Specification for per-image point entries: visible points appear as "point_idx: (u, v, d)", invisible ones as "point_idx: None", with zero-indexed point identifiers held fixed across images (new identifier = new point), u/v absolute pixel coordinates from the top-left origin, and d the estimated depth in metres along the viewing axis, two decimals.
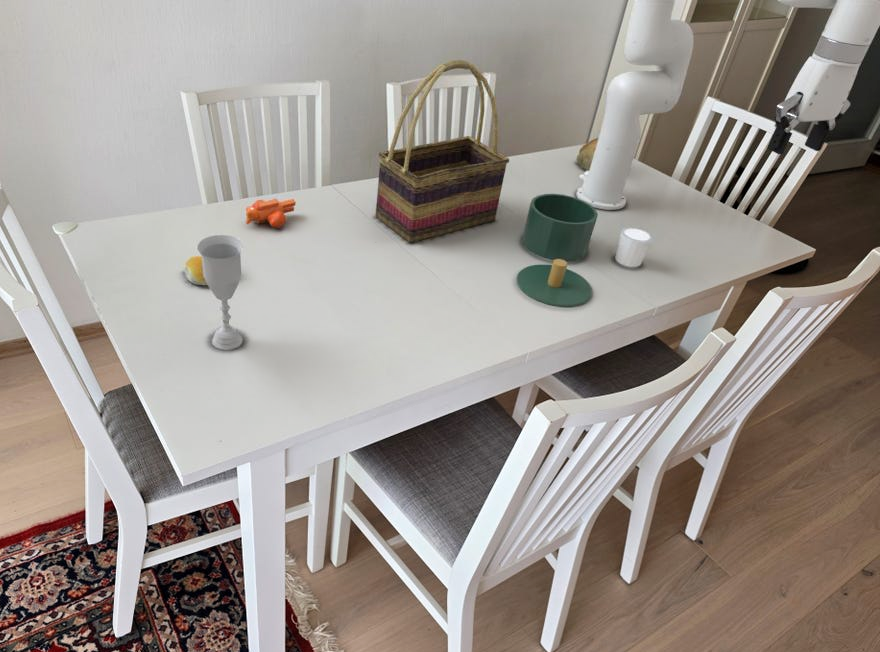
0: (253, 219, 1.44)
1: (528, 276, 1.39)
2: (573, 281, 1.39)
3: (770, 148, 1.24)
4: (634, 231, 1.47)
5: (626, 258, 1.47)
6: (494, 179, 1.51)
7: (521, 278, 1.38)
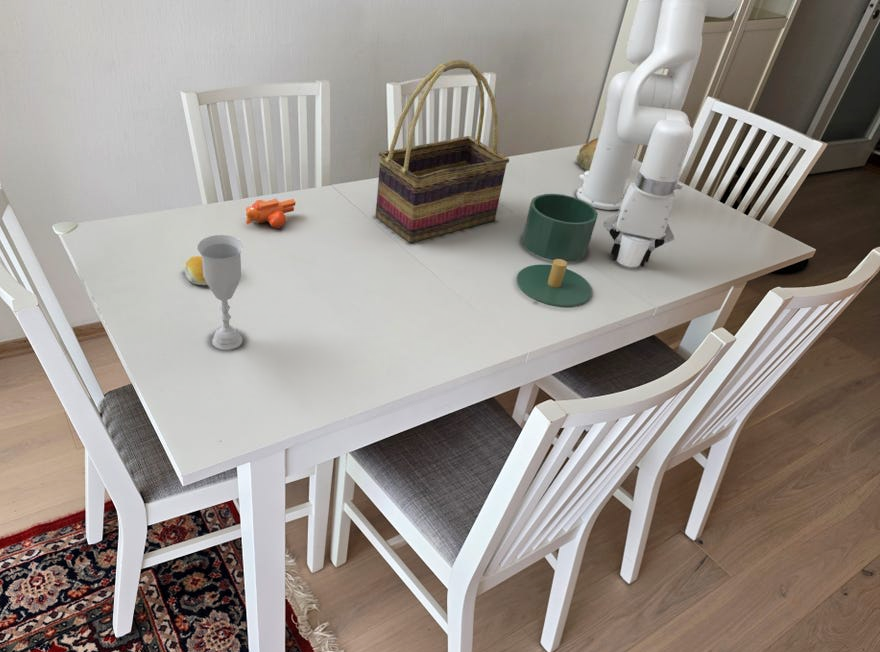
0: (253, 219, 1.44)
1: (528, 276, 1.39)
2: (573, 281, 1.39)
3: (613, 254, 1.51)
4: None
5: (626, 258, 1.47)
6: (494, 179, 1.51)
7: (521, 278, 1.38)
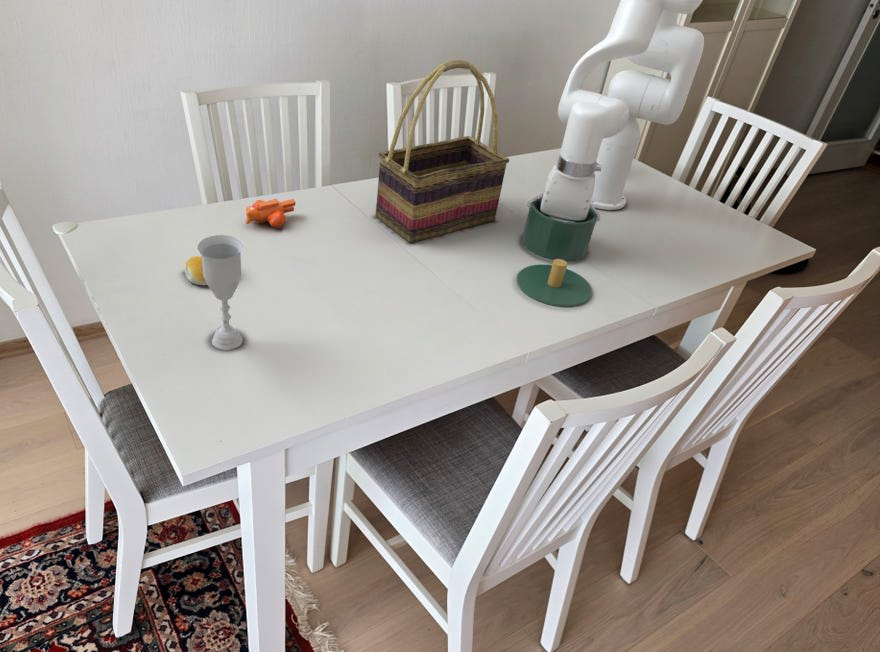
0: (253, 219, 1.44)
1: (528, 276, 1.39)
2: (573, 281, 1.39)
3: None
4: None
5: None
6: (494, 179, 1.51)
7: (521, 278, 1.38)
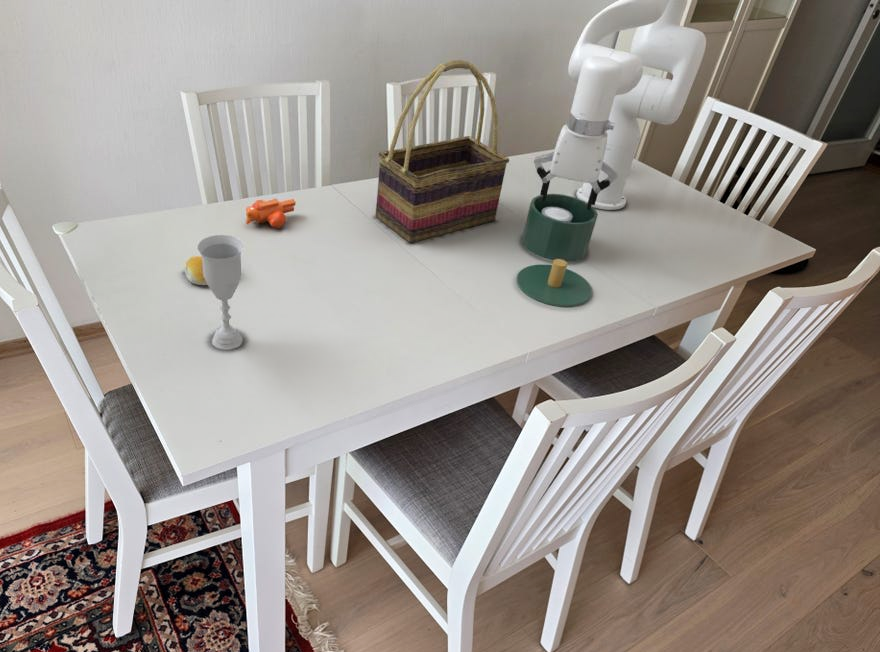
0: (253, 219, 1.44)
1: (528, 276, 1.39)
2: (573, 281, 1.39)
3: None
4: (555, 210, 1.50)
5: None
6: (494, 179, 1.51)
7: (521, 278, 1.38)
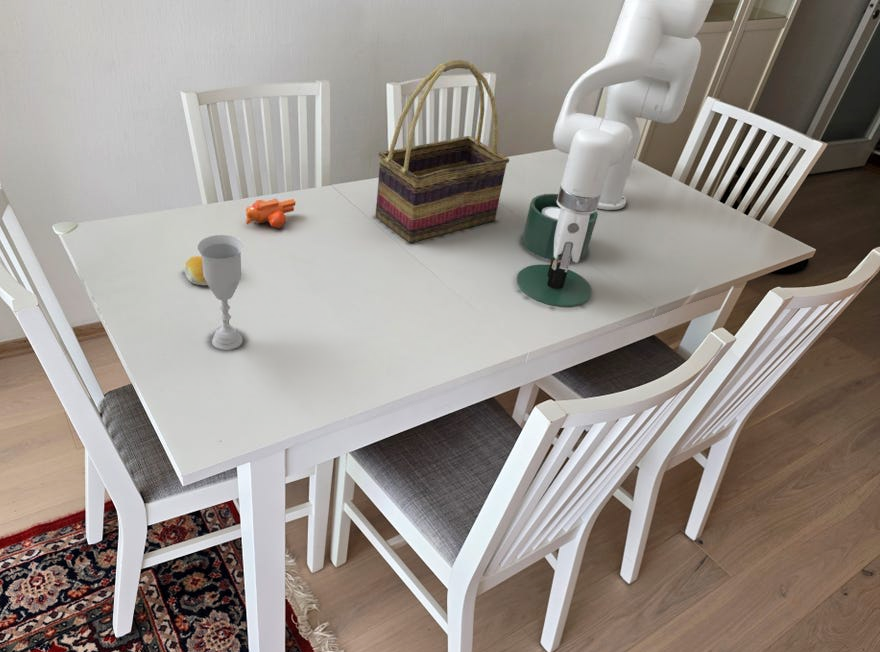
0: (253, 219, 1.44)
1: (528, 276, 1.39)
2: (573, 281, 1.39)
3: None
4: (555, 210, 1.50)
5: None
6: (494, 179, 1.51)
7: (521, 278, 1.38)
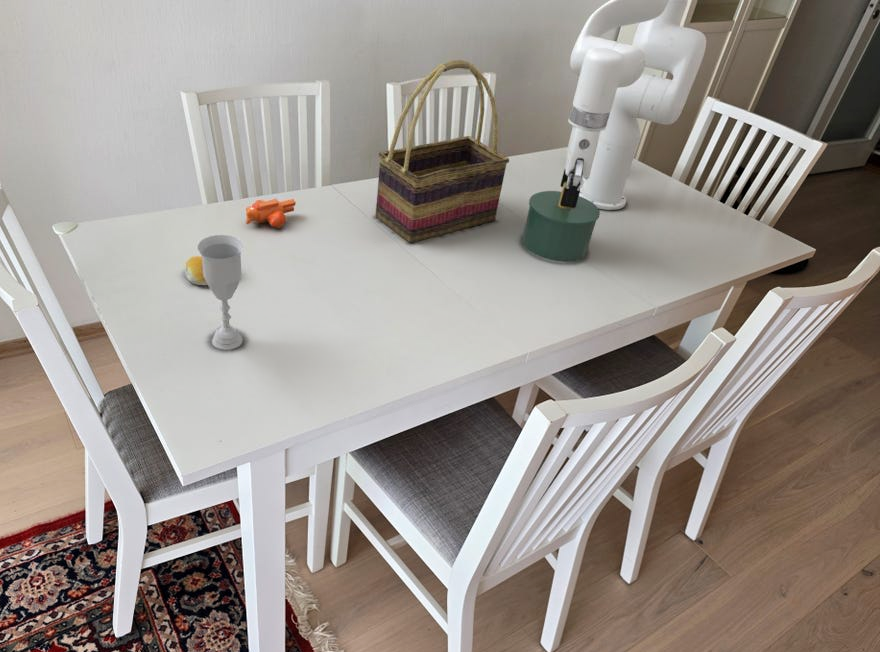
0: (253, 219, 1.44)
1: (540, 199, 1.48)
2: (582, 204, 1.48)
3: None
4: None
5: None
6: (494, 179, 1.51)
7: (533, 201, 1.47)
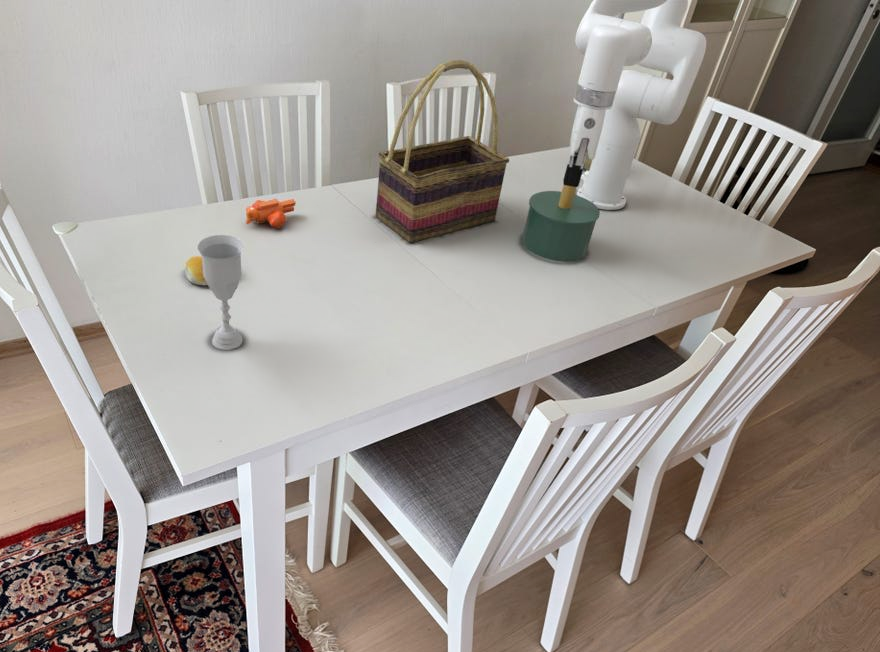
0: (253, 219, 1.44)
1: (540, 199, 1.48)
2: (582, 204, 1.48)
3: None
4: None
5: None
6: (494, 179, 1.51)
7: (533, 201, 1.47)
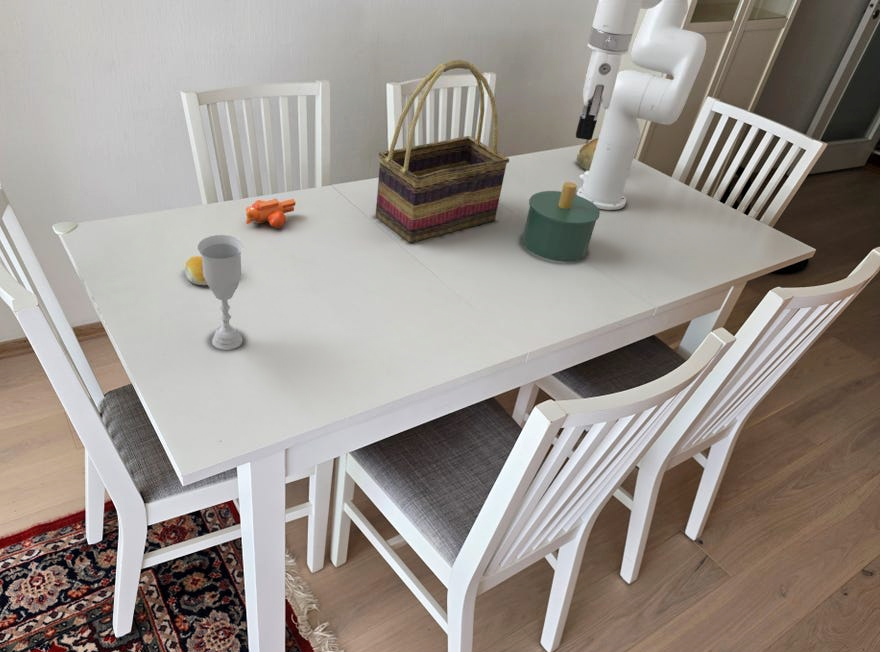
0: (253, 219, 1.44)
1: (540, 199, 1.48)
2: (582, 204, 1.48)
3: None
4: None
5: None
6: (494, 179, 1.51)
7: (533, 201, 1.47)
